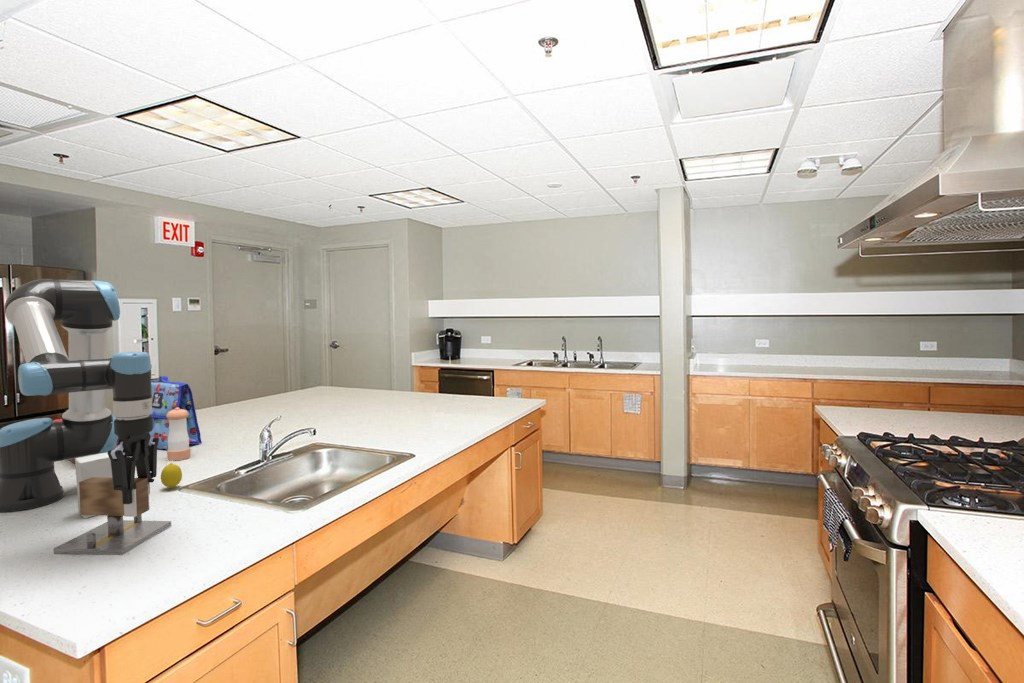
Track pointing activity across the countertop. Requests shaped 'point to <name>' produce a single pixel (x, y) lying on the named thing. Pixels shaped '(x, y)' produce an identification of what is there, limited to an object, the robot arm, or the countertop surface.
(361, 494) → the countertop surface
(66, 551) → the base plate
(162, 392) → the lunch bag
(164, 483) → the lemon
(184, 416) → the pink and white bottle
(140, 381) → the robot arm
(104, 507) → the wooden block
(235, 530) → the countertop surface
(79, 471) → the skincare box
